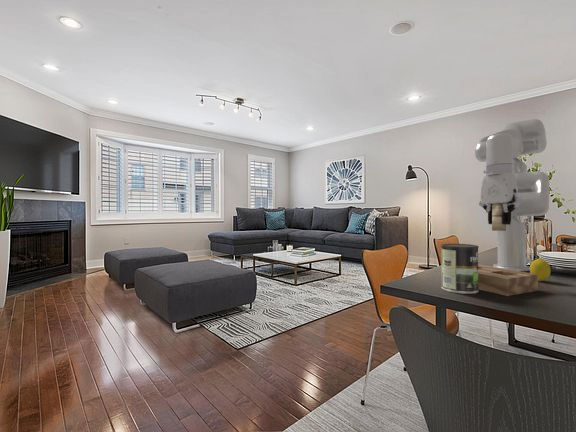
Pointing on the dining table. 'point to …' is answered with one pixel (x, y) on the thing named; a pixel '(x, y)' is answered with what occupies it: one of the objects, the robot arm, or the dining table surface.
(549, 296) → the dining table surface
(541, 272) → the lemon
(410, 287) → the dining table surface
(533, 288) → the mortise block
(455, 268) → the coffee can
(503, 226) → the dowel
